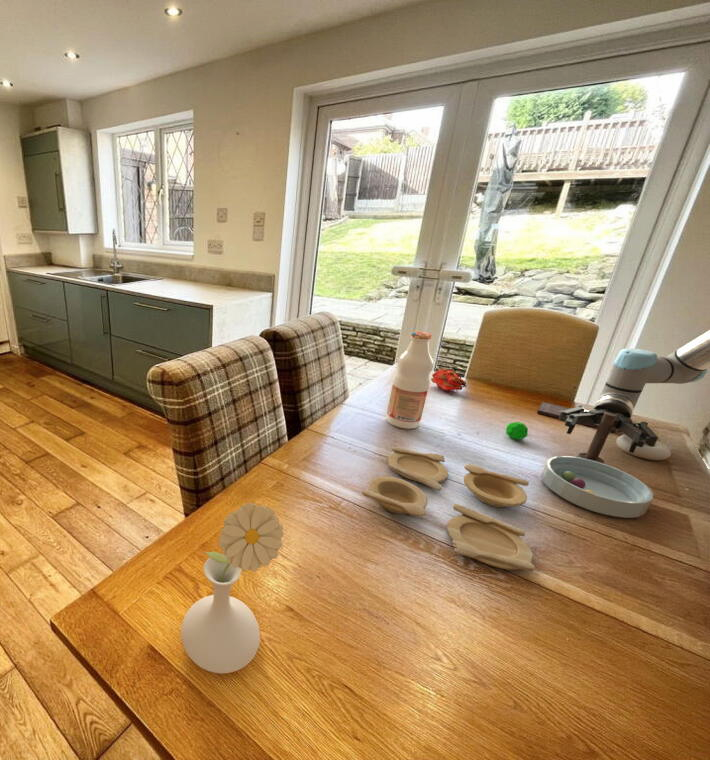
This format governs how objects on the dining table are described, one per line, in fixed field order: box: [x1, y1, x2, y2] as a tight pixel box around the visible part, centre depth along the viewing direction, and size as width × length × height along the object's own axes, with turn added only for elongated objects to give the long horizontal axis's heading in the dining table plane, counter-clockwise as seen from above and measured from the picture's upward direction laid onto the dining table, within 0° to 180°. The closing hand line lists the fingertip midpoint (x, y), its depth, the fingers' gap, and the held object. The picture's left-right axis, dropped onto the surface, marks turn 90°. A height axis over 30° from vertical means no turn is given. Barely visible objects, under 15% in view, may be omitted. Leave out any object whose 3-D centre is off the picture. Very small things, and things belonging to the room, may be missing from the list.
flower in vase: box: [180, 502, 285, 674], centre depth 53 cm, size 13×11×25 cm
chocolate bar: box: [537, 401, 617, 433], centre depth 123 cm, size 9×1×18 cm
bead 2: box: [571, 478, 586, 489], centre depth 89 cm, size 2×2×2 cm
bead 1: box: [562, 471, 576, 482], centre depth 92 cm, size 2×2×2 cm
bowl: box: [541, 455, 654, 519], centre depth 88 cm, size 17×17×4 cm
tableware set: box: [361, 446, 535, 572], centre depth 85 cm, size 35×29×4 cm
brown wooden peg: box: [576, 412, 617, 464], centre depth 98 cm, size 5×5×14 cm
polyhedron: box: [505, 421, 529, 441], centre depth 111 cm, size 5×5×5 cm
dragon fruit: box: [430, 367, 467, 394], centre depth 143 cm, size 8×8×12 cm
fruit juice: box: [385, 331, 434, 430], centre depth 115 cm, size 9×9×28 cm
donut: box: [615, 434, 672, 461], centre depth 105 cm, size 10×4×10 cm
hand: (600, 437), depth 96 cm, fingers open, 11 cm apart
